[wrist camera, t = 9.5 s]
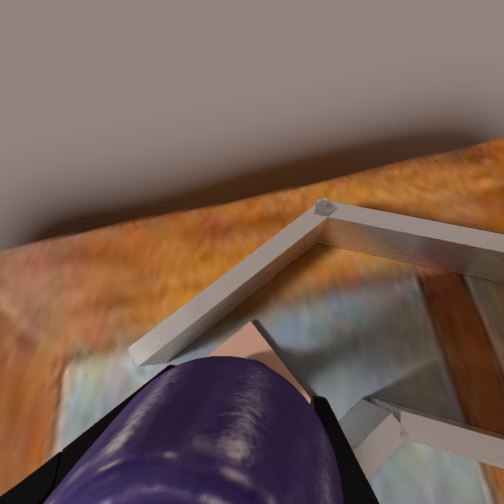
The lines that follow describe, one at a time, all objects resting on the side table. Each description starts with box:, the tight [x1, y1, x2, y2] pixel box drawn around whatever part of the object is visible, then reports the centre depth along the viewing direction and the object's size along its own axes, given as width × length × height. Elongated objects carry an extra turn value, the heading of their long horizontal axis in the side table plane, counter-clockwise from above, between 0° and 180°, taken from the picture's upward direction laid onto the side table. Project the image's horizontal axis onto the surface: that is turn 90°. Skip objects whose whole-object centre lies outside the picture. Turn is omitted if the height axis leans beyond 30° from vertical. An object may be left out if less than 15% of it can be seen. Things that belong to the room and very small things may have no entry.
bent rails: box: [128, 197, 504, 480], centre depth 17 cm, size 18×27×4 cm, turn 102°
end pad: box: [207, 321, 311, 404], centre depth 18 cm, size 7×7×1 cm
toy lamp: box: [43, 356, 344, 504], centre depth 9 cm, size 5×5×17 cm
